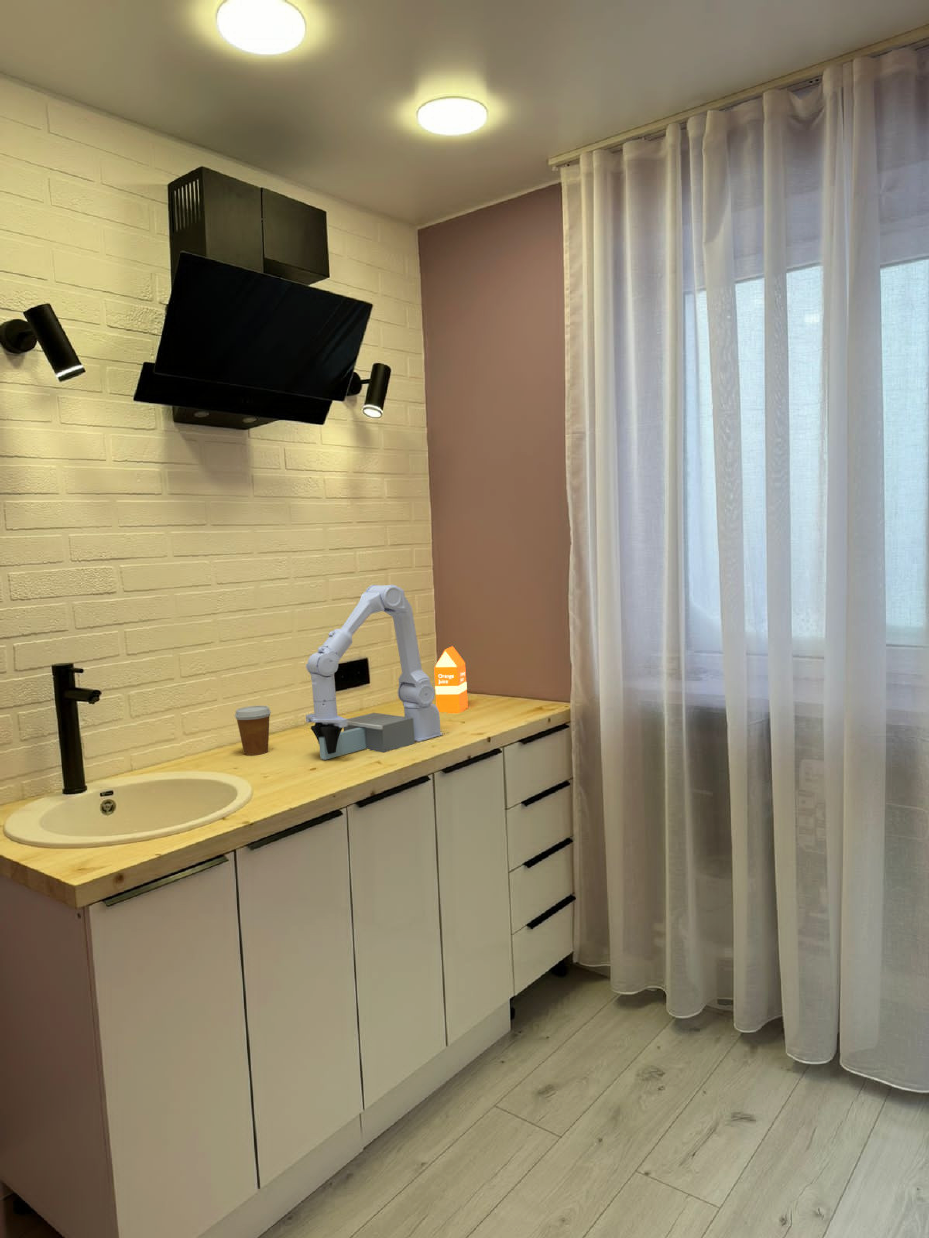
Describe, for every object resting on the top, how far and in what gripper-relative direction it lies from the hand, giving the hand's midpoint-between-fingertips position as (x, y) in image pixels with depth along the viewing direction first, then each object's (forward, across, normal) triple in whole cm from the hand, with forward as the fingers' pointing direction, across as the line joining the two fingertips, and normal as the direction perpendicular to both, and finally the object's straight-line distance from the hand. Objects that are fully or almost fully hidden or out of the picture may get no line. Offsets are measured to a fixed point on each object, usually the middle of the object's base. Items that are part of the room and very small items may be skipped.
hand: (328, 752), depth 222 cm
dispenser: (+2, 0, +17) cm, 17 cm away
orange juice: (+2, -15, +61) cm, 63 cm away
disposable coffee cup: (+2, -24, -6) cm, 25 cm away
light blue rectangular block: (+1, 0, +5) cm, 5 cm away
